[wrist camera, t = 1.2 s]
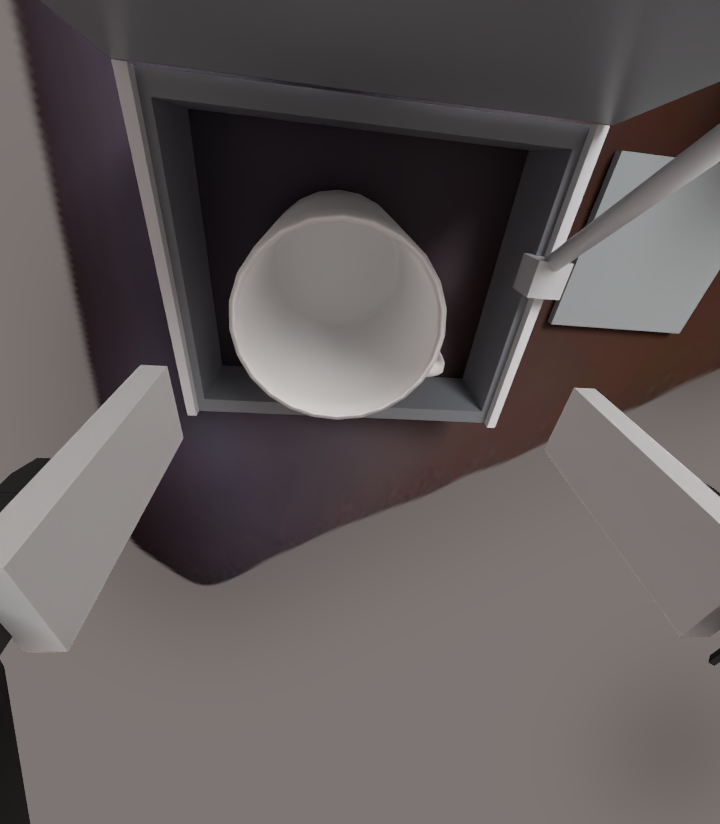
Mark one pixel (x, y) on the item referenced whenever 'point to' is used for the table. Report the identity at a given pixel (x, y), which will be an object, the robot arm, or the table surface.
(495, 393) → the case
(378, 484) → the table surface
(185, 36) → the lid
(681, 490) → the robot arm
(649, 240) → the pad
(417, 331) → the mug
